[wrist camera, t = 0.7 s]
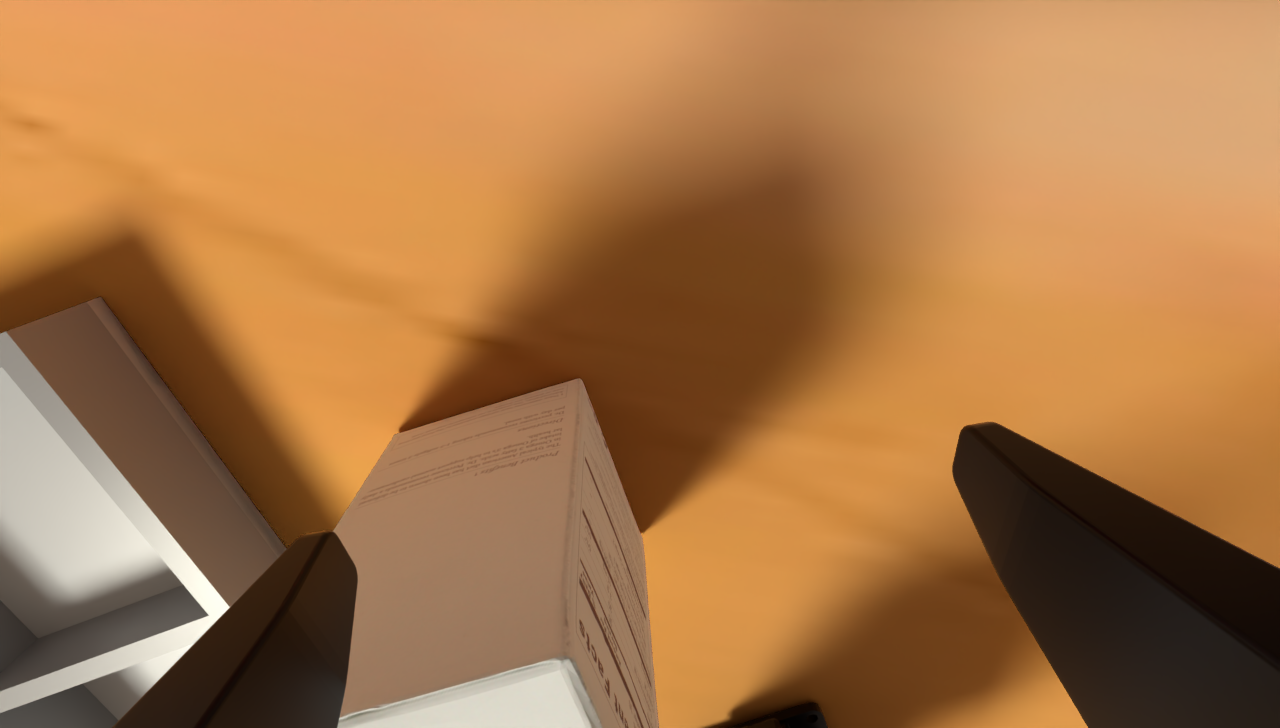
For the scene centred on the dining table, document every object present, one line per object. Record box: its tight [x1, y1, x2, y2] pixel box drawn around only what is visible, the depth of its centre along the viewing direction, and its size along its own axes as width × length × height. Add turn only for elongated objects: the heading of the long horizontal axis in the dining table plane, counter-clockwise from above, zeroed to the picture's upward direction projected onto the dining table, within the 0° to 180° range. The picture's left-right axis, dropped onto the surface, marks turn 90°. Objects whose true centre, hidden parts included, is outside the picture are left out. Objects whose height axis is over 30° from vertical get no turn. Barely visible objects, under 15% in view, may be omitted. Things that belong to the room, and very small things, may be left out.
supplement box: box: [333, 378, 659, 728], centre depth 18 cm, size 7×7×13 cm
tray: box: [0, 297, 286, 728], centre depth 23 cm, size 21×11×4 cm, turn 21°
